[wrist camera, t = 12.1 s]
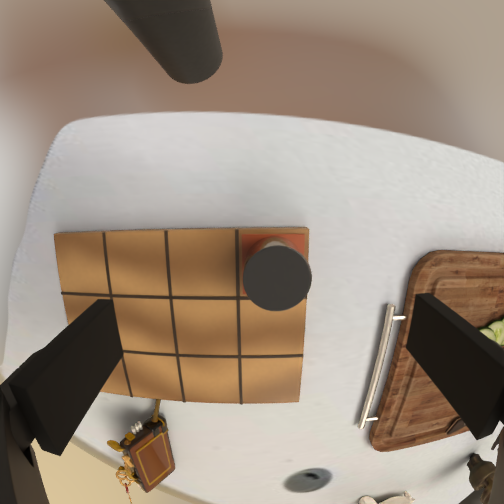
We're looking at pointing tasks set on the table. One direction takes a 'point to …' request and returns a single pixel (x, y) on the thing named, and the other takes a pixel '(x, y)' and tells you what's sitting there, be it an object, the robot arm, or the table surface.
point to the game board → (187, 312)
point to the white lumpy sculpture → (389, 500)
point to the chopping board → (406, 367)
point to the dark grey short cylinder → (276, 274)
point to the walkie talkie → (146, 453)
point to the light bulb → (481, 476)
